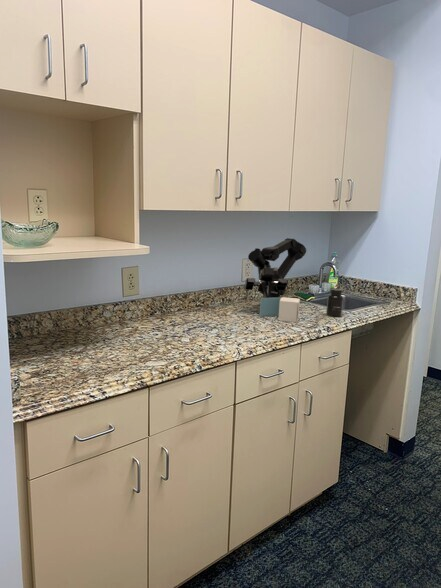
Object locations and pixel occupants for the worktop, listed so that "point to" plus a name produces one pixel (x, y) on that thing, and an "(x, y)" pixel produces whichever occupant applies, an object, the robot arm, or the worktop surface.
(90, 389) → the worktop surface
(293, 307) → the carton
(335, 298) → the supplement bottle
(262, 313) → the flap
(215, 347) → the worktop surface
